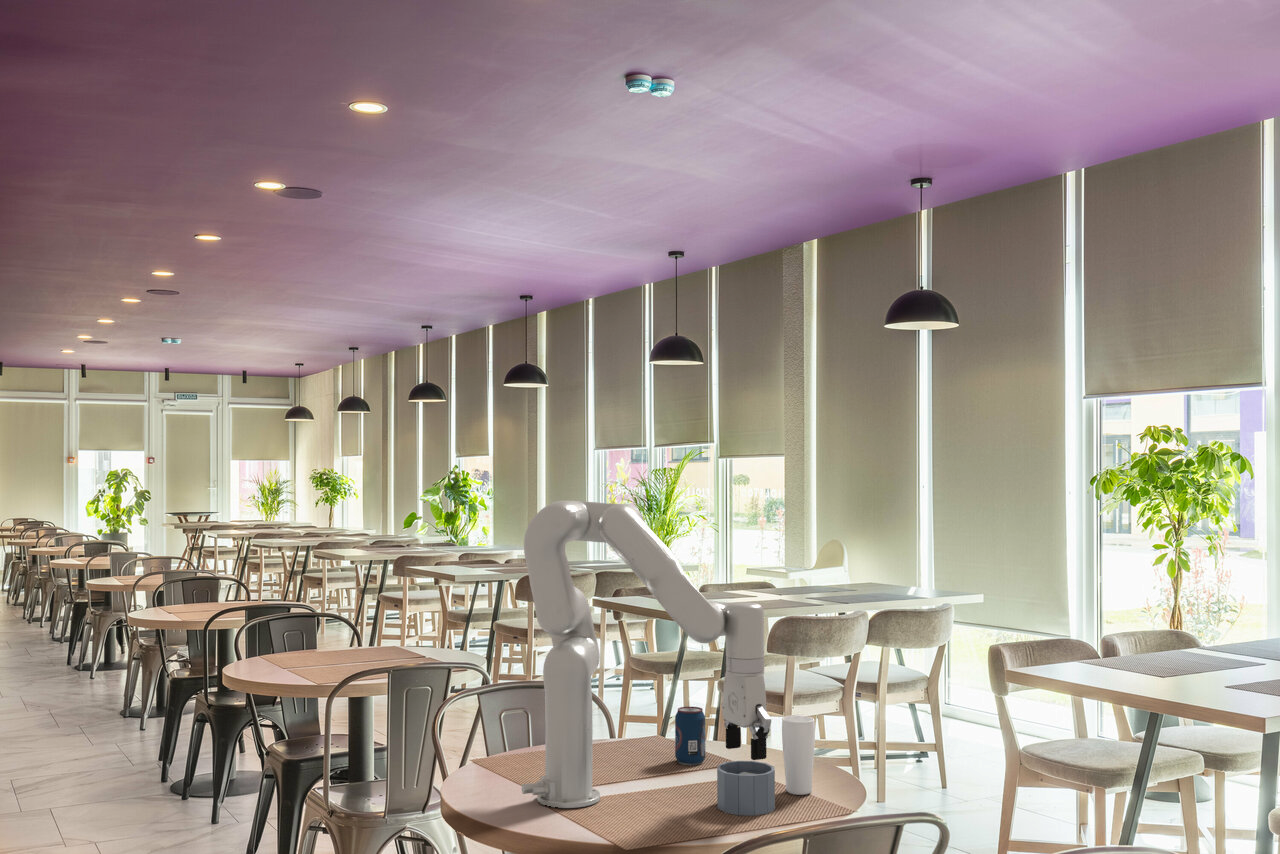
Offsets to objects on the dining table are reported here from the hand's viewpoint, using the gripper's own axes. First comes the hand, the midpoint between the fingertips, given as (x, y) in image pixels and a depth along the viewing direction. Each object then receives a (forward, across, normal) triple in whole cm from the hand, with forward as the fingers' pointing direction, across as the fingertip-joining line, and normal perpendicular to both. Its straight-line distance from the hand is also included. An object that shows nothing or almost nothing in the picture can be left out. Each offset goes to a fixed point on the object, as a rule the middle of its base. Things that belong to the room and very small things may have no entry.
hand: (745, 753), depth 208 cm
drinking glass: (+10, -4, +15) cm, 19 cm away
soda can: (+10, -35, +6) cm, 37 cm away
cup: (+10, 0, 0) cm, 10 cm away
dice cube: (+10, 0, +1) cm, 10 cm away
